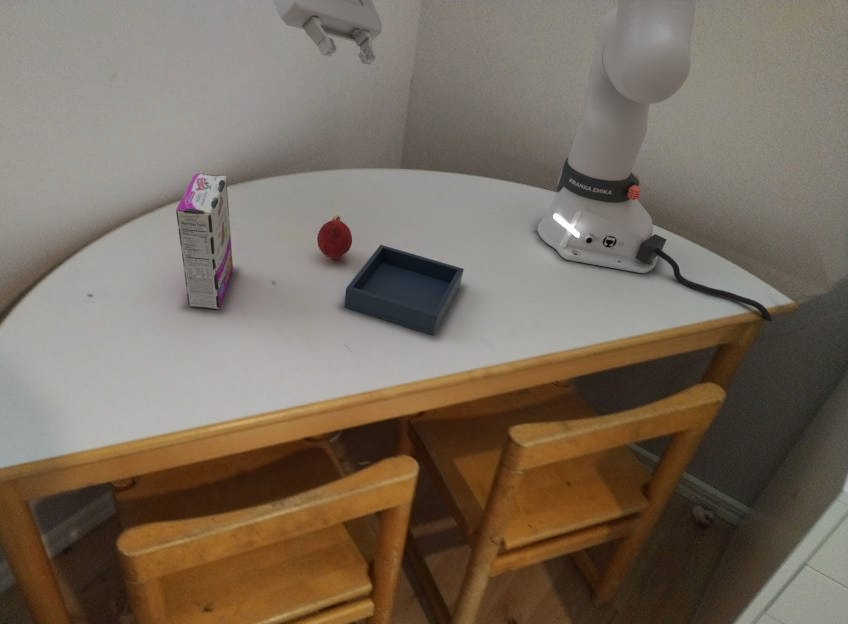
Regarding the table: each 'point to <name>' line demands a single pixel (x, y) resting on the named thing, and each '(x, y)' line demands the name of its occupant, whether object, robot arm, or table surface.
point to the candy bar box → (205, 240)
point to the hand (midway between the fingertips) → (350, 57)
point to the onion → (334, 238)
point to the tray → (404, 289)
